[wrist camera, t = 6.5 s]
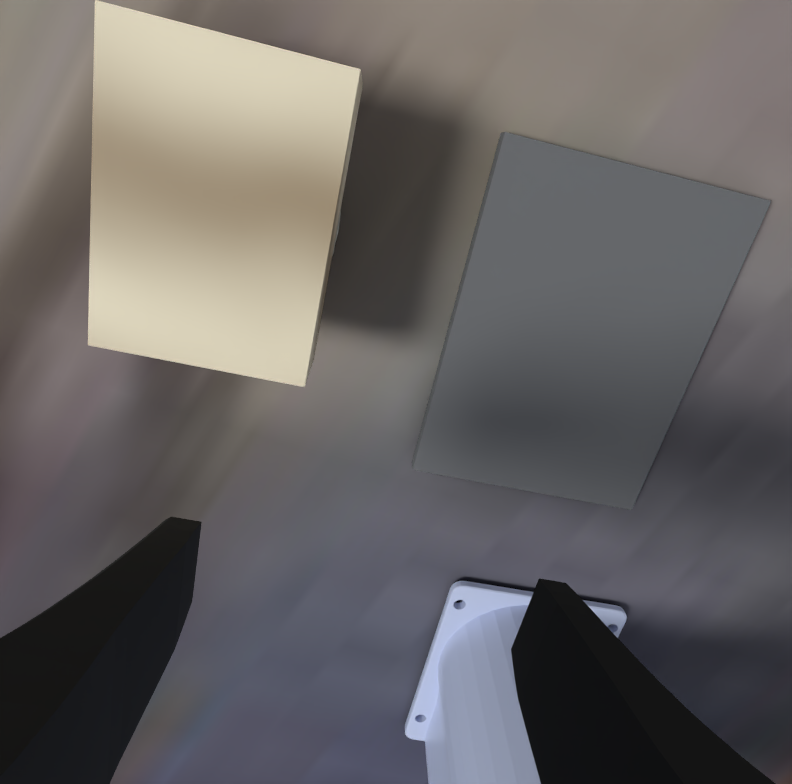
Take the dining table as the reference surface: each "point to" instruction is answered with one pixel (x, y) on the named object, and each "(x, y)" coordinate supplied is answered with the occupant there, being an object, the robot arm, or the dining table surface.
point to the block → (213, 194)
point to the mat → (579, 321)
